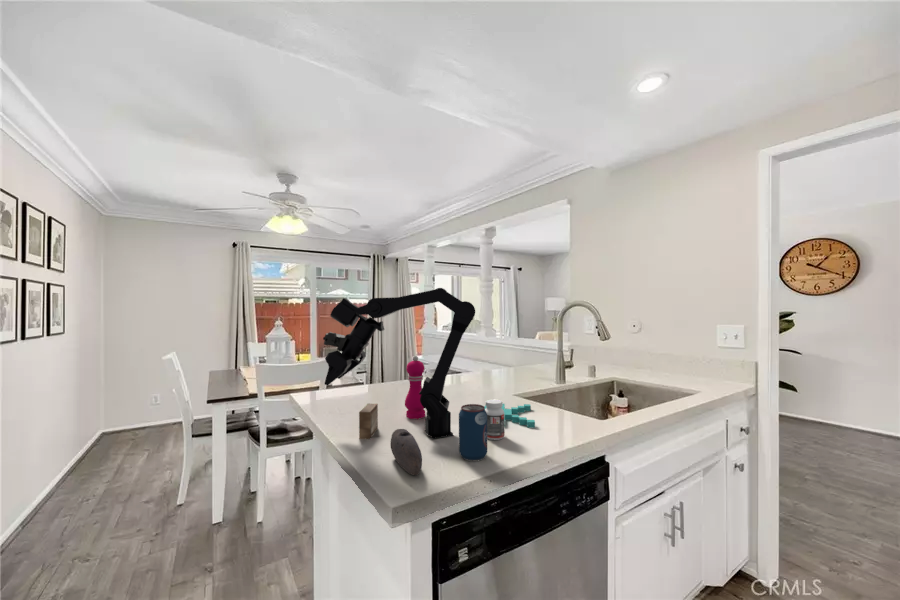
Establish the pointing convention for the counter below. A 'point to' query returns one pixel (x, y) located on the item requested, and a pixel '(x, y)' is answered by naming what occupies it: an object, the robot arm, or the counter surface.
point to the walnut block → (368, 421)
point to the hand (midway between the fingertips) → (332, 381)
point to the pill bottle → (495, 419)
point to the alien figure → (516, 418)
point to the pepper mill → (414, 389)
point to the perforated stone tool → (406, 451)
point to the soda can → (473, 432)
